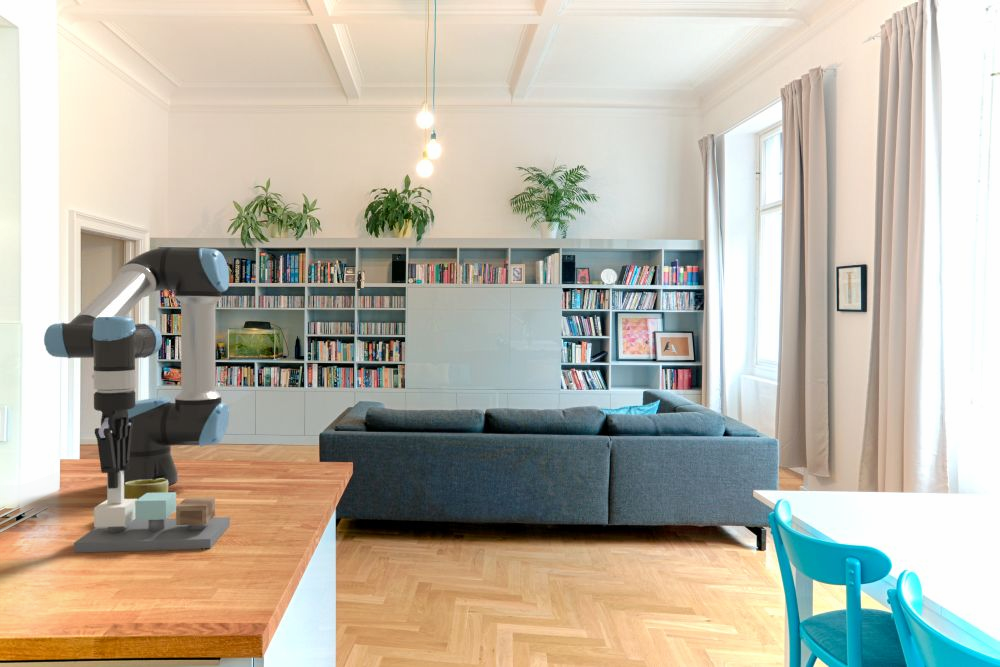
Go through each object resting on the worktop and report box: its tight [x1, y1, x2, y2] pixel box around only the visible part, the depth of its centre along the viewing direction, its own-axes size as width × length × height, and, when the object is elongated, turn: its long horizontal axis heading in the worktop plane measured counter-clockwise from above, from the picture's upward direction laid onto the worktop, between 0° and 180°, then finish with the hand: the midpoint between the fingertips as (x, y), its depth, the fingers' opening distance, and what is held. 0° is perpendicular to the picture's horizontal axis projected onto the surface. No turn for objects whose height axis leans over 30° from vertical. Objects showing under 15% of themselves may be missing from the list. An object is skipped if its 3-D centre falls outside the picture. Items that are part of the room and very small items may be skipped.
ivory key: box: [93, 499, 137, 528], centre depth 140 cm, size 6×6×4 cm
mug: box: [124, 478, 169, 499], centre depth 158 cm, size 12×10×10 cm
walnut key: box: [175, 496, 216, 525], centre depth 142 cm, size 6×6×4 cm
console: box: [73, 516, 231, 553], centre depth 142 cm, size 14×26×5 cm, turn 97°
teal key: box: [135, 491, 177, 520], centre depth 141 cm, size 6×6×4 cm
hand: (115, 502), depth 140 cm, fingers closed
